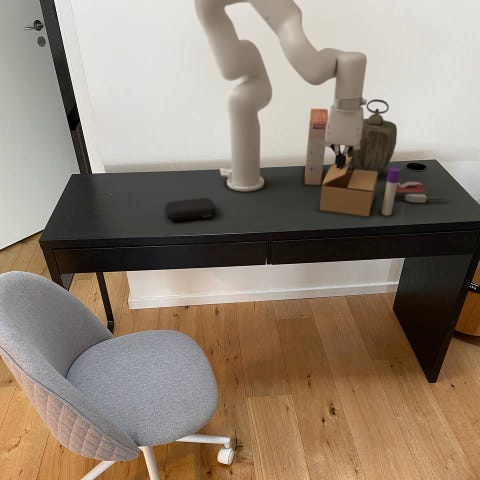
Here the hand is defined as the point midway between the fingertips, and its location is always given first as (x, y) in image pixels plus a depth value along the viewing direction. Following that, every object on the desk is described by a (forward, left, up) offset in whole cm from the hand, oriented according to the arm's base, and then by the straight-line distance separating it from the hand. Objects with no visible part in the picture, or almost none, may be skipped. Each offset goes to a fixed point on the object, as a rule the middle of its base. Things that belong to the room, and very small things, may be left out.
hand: (339, 166), depth 149 cm
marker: (+16, -3, -12) cm, 20 cm away
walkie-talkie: (+24, +11, -12) cm, 29 cm away
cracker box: (-11, +17, -12) cm, 23 cm away
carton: (+4, 0, -12) cm, 12 cm away
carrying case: (-40, -21, -12) cm, 47 cm away
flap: (0, 0, -1) cm, 1 cm away
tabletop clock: (+7, +24, -12) cm, 27 cm away
